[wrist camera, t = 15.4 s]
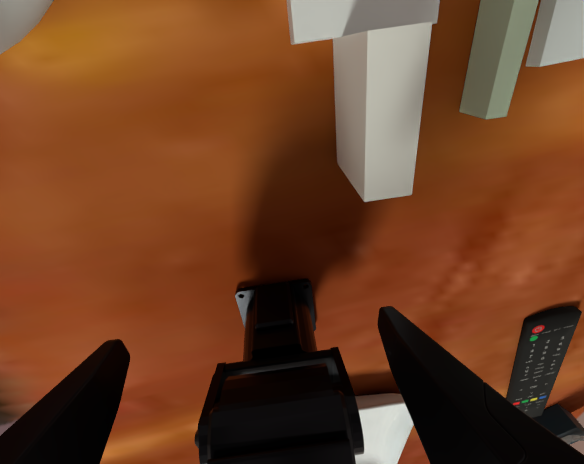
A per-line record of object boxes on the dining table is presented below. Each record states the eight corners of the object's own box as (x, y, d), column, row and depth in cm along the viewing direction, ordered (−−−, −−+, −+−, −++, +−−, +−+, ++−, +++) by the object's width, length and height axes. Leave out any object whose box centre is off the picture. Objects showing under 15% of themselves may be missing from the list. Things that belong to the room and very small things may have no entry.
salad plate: (238, 393, 33) (236, 425, 30) (412, 375, 35) (426, 404, 32) (254, 466, 45) (253, 494, 42) (385, 450, 46) (393, 477, 43)
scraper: (405, 153, 19) (456, 188, 14) (303, 168, 19) (318, 208, 14) (428, -78, 13) (530, -160, 8) (280, -58, 13) (292, -128, 8)
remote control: (498, 414, 43) (505, 423, 42) (520, 312, 30) (530, 322, 29) (534, 405, 43) (541, 415, 41) (570, 298, 30) (583, 308, 29)
